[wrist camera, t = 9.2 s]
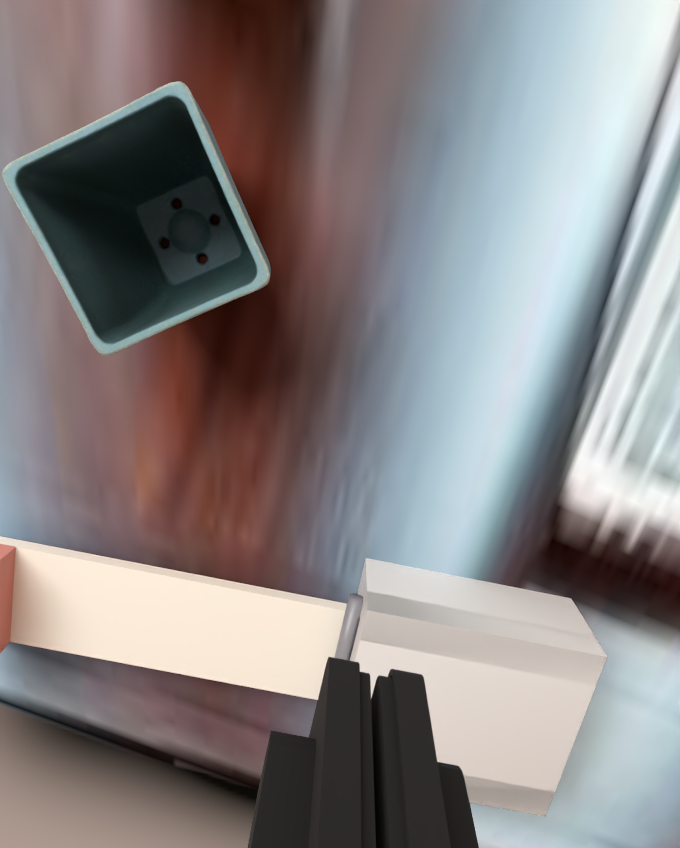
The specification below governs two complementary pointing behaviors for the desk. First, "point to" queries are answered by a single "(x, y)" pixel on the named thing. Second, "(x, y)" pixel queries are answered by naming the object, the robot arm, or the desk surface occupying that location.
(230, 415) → the desk surface
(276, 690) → the long cream plank
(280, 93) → the desk surface
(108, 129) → the flower pot
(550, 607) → the block
